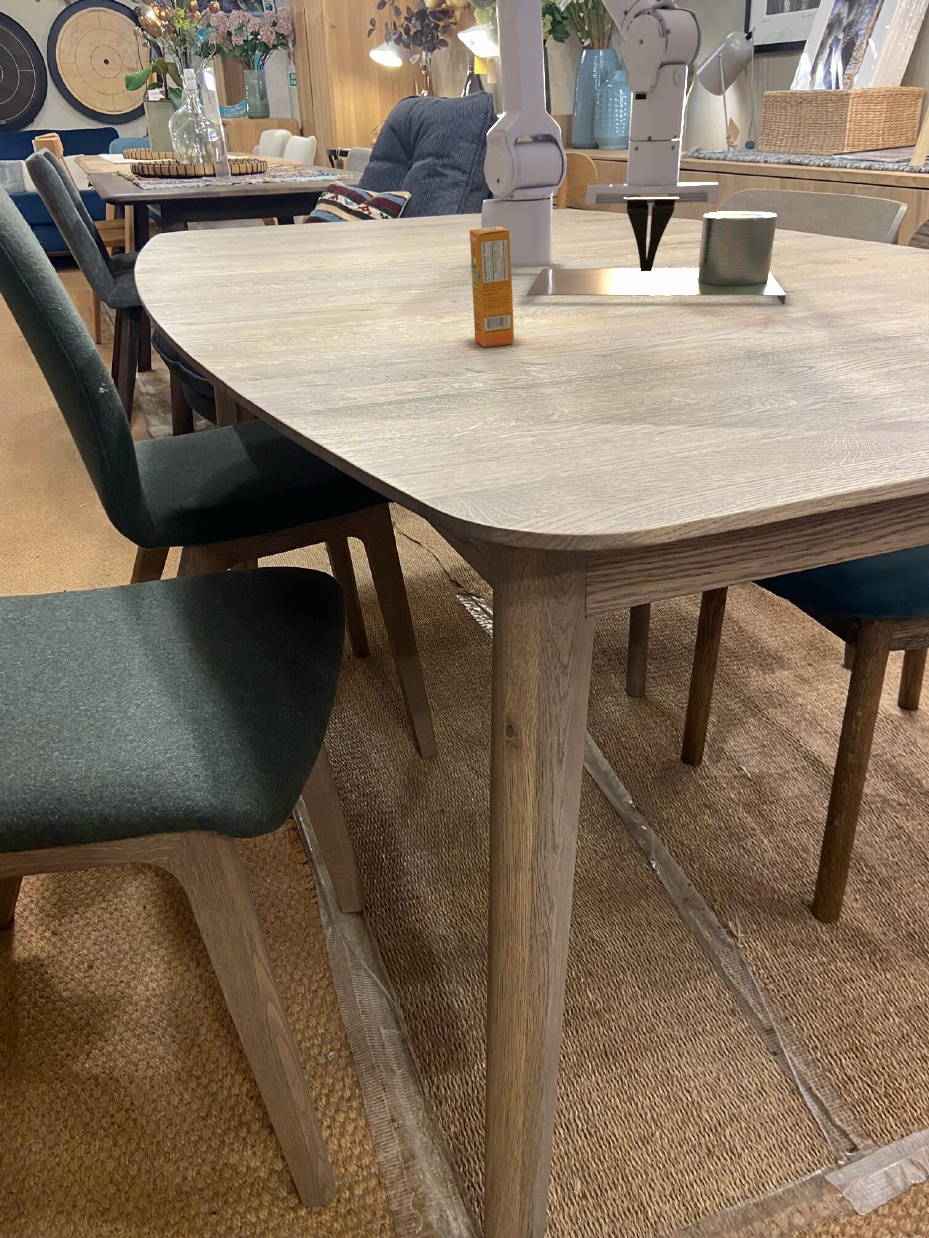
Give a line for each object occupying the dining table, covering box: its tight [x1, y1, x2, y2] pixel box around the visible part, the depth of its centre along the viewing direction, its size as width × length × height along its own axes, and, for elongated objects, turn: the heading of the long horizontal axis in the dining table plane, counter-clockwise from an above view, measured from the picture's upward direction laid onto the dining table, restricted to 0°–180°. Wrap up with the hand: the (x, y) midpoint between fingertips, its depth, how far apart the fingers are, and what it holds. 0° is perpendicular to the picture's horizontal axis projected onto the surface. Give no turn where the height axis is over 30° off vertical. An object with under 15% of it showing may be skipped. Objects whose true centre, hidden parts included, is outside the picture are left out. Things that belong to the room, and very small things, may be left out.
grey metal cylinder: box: [697, 210, 778, 286], centre depth 102 cm, size 8×8×7 cm
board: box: [526, 267, 787, 305], centre depth 105 cm, size 28×18×1 cm, turn 80°
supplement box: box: [468, 226, 515, 348], centre depth 82 cm, size 3×3×10 cm
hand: (645, 270), depth 105 cm, fingers closed
